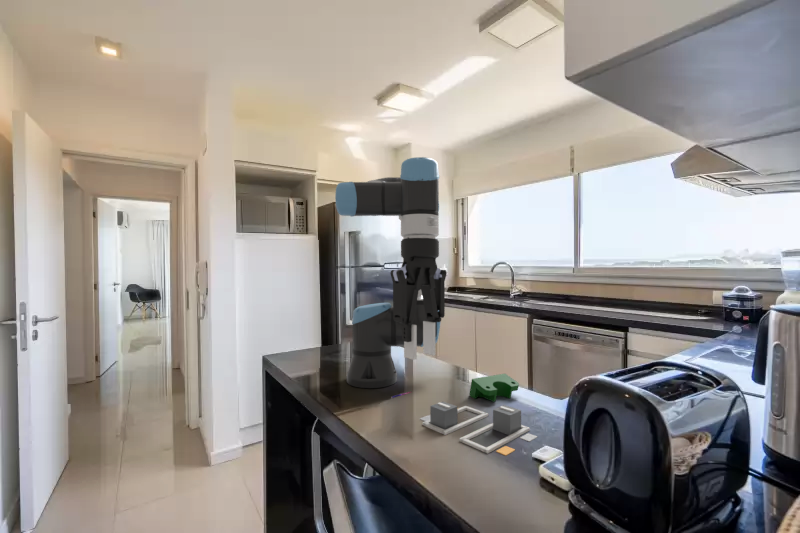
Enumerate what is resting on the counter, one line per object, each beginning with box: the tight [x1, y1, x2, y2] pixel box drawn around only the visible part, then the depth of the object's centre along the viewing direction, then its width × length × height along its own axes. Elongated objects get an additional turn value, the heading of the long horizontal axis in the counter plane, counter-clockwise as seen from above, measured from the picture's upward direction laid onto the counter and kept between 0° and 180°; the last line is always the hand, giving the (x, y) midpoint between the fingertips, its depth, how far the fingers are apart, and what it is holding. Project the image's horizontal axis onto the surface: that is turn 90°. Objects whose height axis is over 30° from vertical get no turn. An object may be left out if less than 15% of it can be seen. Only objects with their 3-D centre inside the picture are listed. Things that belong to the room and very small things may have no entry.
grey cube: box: [492, 404, 522, 436], centre depth 76 cm, size 4×4×4 cm
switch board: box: [419, 405, 539, 457], centre depth 78 cm, size 24×18×2 cm
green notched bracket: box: [469, 373, 520, 403], centre depth 96 cm, size 12×6×9 cm, turn 111°
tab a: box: [429, 401, 459, 430], centre depth 79 cm, size 4×4×4 cm
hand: (420, 355), depth 74 cm, fingers open, 4 cm apart
